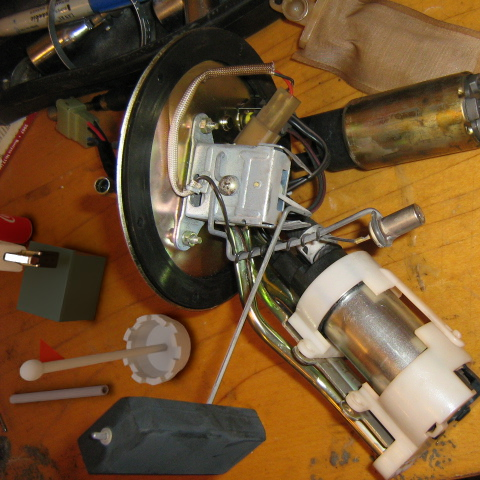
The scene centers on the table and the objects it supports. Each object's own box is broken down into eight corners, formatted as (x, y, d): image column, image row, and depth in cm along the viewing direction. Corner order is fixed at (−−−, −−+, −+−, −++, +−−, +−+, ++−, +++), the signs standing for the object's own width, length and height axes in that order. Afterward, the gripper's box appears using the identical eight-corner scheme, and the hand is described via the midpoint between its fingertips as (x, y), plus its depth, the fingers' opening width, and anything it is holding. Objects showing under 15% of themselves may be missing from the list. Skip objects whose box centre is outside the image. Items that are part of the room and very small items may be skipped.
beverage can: (27, 212, 110) (-26, 203, 99) (38, 230, 108) (-15, 224, 97) (12, 230, 111) (-42, 224, 100) (23, 249, 109) (-31, 244, 98)
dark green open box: (65, 248, 104) (32, 245, 97) (106, 257, 100) (75, 255, 92) (53, 307, 104) (20, 309, 97) (94, 319, 99) (62, 322, 92)
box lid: (33, 241, 97) (7, 238, 92) (76, 250, 92) (50, 248, 87) (19, 309, 96) (-8, 310, 91) (62, 322, 92) (35, 324, 87)
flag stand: (206, 351, 88) (71, 380, 60) (163, 394, 91) (14, 440, 63) (171, 299, 92) (29, 304, 64) (131, 341, 95) (-22, 363, 67)
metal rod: (109, 393, 96) (101, 395, 94) (18, 402, 105) (9, 404, 103) (108, 384, 96) (100, 386, 94) (17, 393, 105) (9, 395, 103)
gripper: (-91, 262, 79) (8, 267, 95) (-29, 280, 73) (66, 282, 88) (-82, 219, 80) (15, 231, 95) (-19, 234, 73) (74, 244, 89)
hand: (40, 255), depth 92 cm, fingers open, 9 cm apart
